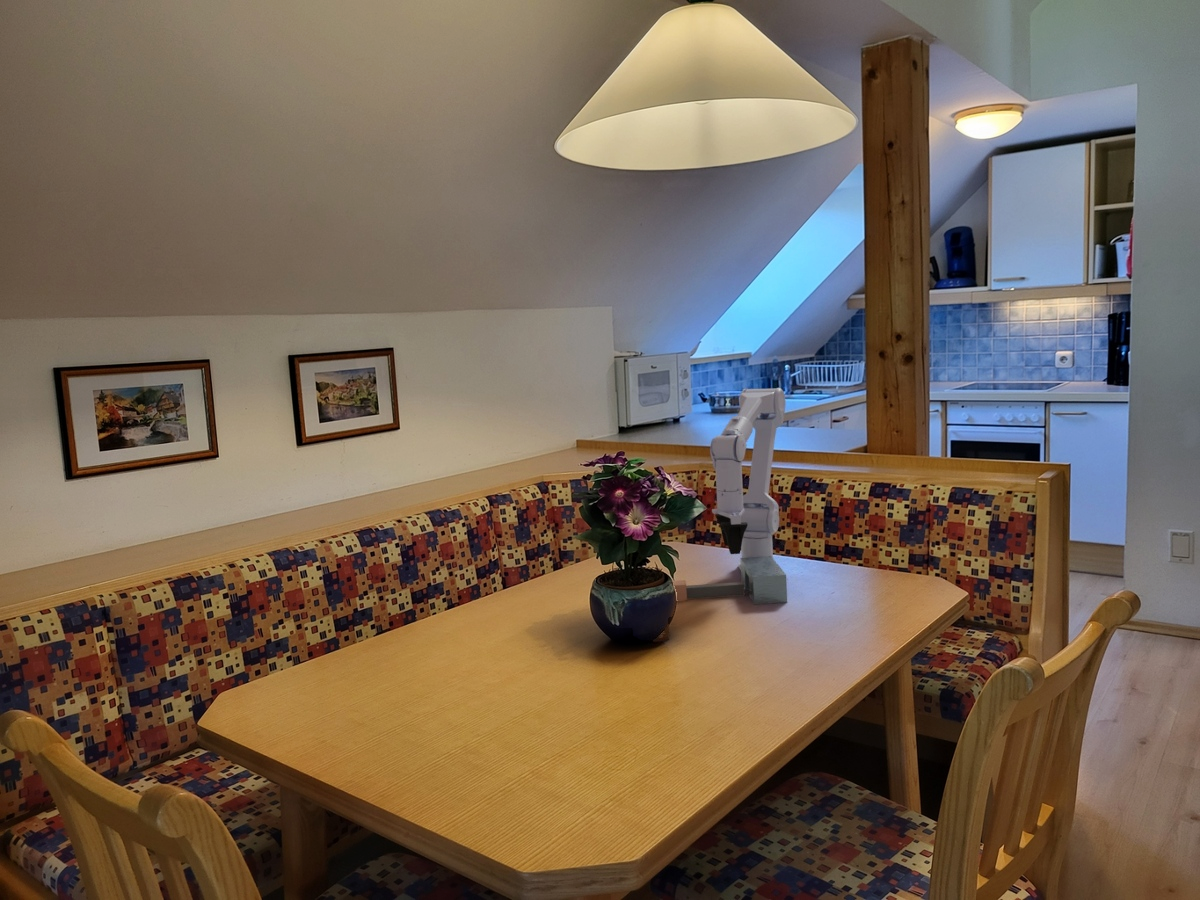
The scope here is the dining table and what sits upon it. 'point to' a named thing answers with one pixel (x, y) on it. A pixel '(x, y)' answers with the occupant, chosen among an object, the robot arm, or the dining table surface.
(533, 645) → the dining table surface
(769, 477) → the robot arm
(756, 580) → the block
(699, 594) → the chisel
